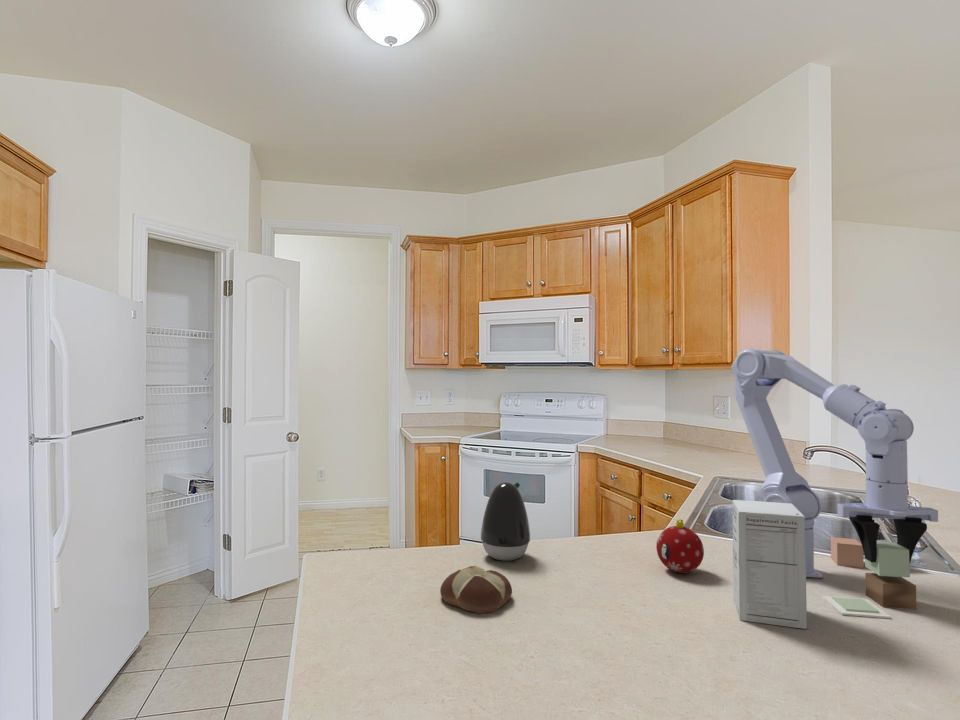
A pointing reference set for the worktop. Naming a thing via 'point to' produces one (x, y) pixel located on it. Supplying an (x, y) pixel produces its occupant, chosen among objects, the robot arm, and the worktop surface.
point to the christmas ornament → (680, 548)
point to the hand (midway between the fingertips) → (887, 561)
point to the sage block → (890, 560)
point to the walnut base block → (891, 591)
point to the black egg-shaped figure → (505, 523)
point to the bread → (476, 589)
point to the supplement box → (769, 563)
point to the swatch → (855, 607)
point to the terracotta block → (847, 552)
